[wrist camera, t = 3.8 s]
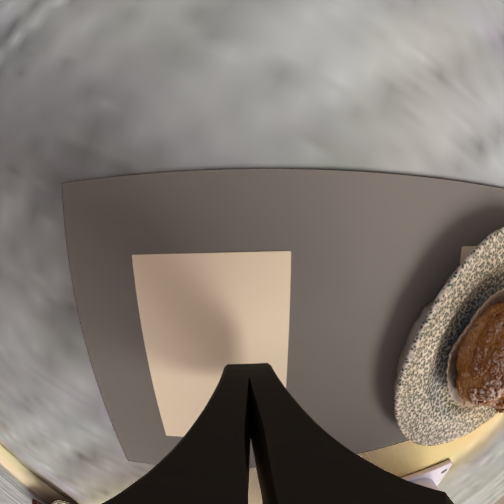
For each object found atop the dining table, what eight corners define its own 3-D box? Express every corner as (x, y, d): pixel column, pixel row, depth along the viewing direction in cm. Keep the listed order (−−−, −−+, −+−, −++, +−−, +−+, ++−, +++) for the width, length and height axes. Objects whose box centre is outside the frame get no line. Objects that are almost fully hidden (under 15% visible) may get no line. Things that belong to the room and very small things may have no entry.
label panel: (525, 385, 13) (528, 387, 13) (129, 456, 12) (127, 461, 11) (569, 203, 10) (573, 204, 10) (66, 182, 9) (61, 183, 8)
